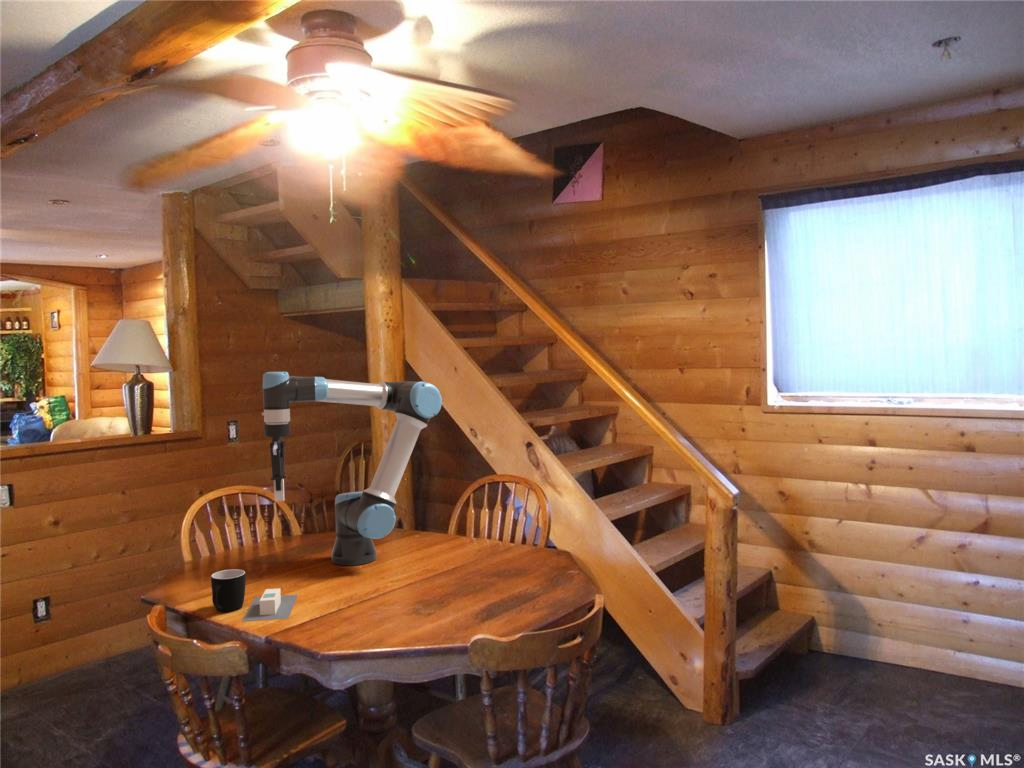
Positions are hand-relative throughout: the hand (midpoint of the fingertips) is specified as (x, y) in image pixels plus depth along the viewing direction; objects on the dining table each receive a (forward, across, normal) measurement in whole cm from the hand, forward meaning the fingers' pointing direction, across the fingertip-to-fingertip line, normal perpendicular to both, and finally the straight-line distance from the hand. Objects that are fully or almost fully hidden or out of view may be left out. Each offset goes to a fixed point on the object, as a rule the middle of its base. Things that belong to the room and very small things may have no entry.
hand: (279, 500), depth 235 cm
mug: (+27, +20, -12) cm, 35 cm away
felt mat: (+26, +20, 0) cm, 33 cm away
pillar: (+24, +16, 0) cm, 29 cm away
